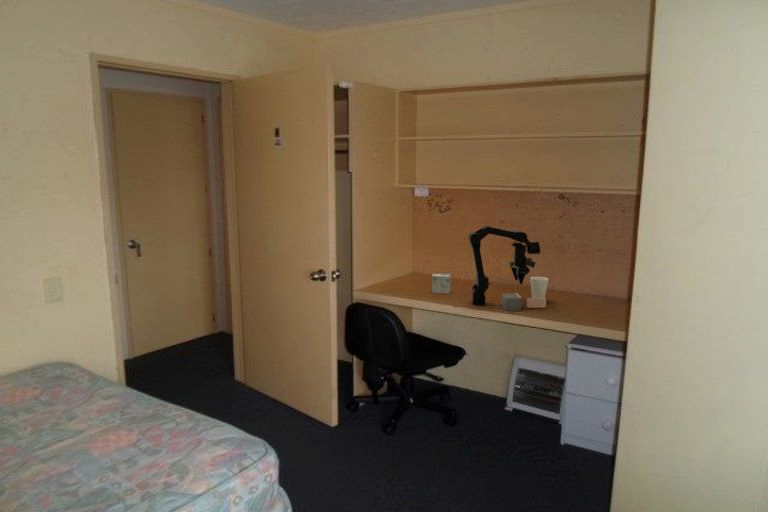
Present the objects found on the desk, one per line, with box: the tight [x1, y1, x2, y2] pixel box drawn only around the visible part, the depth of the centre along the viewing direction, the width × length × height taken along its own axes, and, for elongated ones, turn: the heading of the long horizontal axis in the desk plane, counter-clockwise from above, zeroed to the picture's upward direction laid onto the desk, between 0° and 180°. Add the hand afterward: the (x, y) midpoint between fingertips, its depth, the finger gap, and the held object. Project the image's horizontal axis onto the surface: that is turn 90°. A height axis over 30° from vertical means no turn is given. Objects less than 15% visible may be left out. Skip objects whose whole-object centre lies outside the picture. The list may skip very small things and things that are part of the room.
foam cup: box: [529, 276, 549, 298], centre depth 307 cm, size 10×9×13 cm
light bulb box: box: [431, 273, 451, 295], centre depth 326 cm, size 11×7×11 cm, turn 84°
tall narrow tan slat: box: [525, 297, 547, 309], centre depth 294 cm, size 10×2×5 cm, turn 92°
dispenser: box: [500, 292, 523, 312], centre depth 293 cm, size 8×10×7 cm
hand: (518, 282), depth 301 cm, fingers open, 9 cm apart
